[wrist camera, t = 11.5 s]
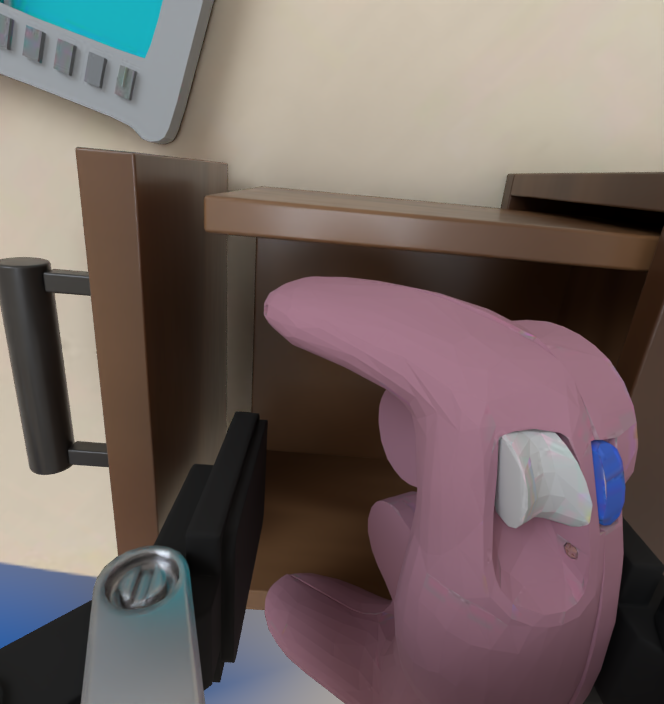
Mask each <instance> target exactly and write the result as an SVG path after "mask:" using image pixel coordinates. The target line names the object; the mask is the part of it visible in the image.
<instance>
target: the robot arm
mask: <svg viewBox="0 0 664 704" xmlns="http://www.w3.org/2000/svg"><path fill="white" fill-rule="evenodd" d="M267 429H268V421H267V420H261V419H260V415H259V413H249V412H235V414H234V417H233V419H232V422H231V424H230V426H229V429H228V431H227V434H226V436H225V439H224V441H223V443H222V446H221V448H220V451H219V453H218V456H217V458H216V461H215V463H214V465H206V464H194V465H193V466H192V467H191V469H190V471H189V473H188V475H187V477H186V479H185V481H184V483H183V485H182V487H181V489H180V492H179V494H178V496H177V498H176V500H175V502H174V504H173V506H172V508H171V510H170V512H169V514H168V516H167V518H166V520H165V522H164V525H163V527H162V529H161V531H160V533H159V535H158V537H157V539H156V541H155V543H154V545H152V546H142V547H139V548H136V549H132V550H129V551H127V552H125V553H123V554H121V555H120V556H118V557H116V558H115V559H114V560H112V561H111V562H110V563H109V564H108V565H106V566H105V567H104V569H103V570H102V572H101V573H100V574H99V576H98V577H97V579H96V583H95V586H94V589H93V597H92V600H91V601H89V602H87V603H85V604H83V605H82V606H80V607H78V608H76V609H74V610H72V611H70V612H68V613H67V614H65V615H63V616H61V617H59V618H57V619H55V620H54V621H52V622H50V623H48V624H46V625H44V626H42V627H40V628H38V629H37V630H35V631H33V632H31V633H29V634H27V635H25V636H24V637H22V638H20V639H18V640H16V641H14V642H12V643H10V644H8V645H7V646H5V647H3V648H1V649H0V704H205V698H204V690H205V689H207V688H208V687H209V686H211V685H212V682H220V680H221V676H222V671H223V667H224V662H232V663H234V662H235V659H236V655H237V649H238V645H239V640H240V635H241V630H242V625H243V620H244V615H245V610H246V605H247V600H248V595H249V590H250V585H251V580H252V575H253V570H254V565H255V560H256V555H257V550H258V545H259V540H260V535H261V530H262V525H263V517H264V501H265V477H266V453H267ZM622 519H623V551H624V555H623V566H622V575H621V583H620V591H619V598H618V606H617V614H616V622H615V625H614V628H613V632H612V635H611V638H610V641H609V645H608V648H607V651H606V655H605V658H604V661H603V664H602V668H601V670H600V672H599V674H598V677H597V679H596V681H595V683H594V685H593V687H592V689H591V691H590V693H589V695H588V697H587V698H586V700H585V701H584V702H583V704H664V575H663V572H664V565H663V563H662V562H661V561H660V560H659V559H658V558H657V556H656V555H655V554H654V553H653V552H652V550H651V549H650V548H649V547H648V546H647V545H646V543H645V542H644V541H643V540H642V539H641V538H640V536H639V535H638V534H637V533H636V532H635V530H634V529H633V528H632V527H631V526H630V525H629V523H628V522H627V521H626V520H625V519H624V517H623V516H622Z"/></svg>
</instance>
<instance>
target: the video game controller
mask: <svg viewBox="0 0 664 704" xmlns="http://www.w3.org/2000/svg"><path fill="white" fill-rule="evenodd" d="M264 316H265V318H266V319H267V321H268V323H269V324H270V325H271V326H272V327H273V328H274V329H275V330H276V331H277V332H278V333H280V334H281V335H282V336H283V337H284V338H285V339H286V340H288V341H289V342H290V343H291V344H292V345H294V346H297V347H299V348H301V349H304V350H306V351H308V352H311V353H313V354H315V355H317V356H320V357H322V358H324V359H327V360H329V361H331V362H334V363H336V364H338V365H341V366H343V367H345V368H347V369H349V370H351V371H353V372H354V373H356V374H358V375H360V376H362V377H364V378H366V379H368V380H369V381H371V382H373V383H375V384H377V385H379V386H381V387H383V388H385V389H386V391H385V392H384V394H383V396H382V399H381V402H380V405H379V429H380V436H381V442H382V445H383V448H384V451H385V454H386V456H387V459H388V461H389V462H390V464H391V465H392V467H393V469H394V470H395V471H396V473H397V474H398V475H399V476H400V477H401V479H403V480H404V481H405V482H407V483H408V484H410V485H412V486H415V487H417V492H414V491H411V492H407V493H404V494H400V495H397V496H393V497H389V498H386V499H383V500H380V501H377V502H376V503H375V504H374V505H373V506H372V507H371V511H370V514H369V517H368V534H369V539H370V544H371V548H372V552H373V555H374V557H375V560H376V563H377V565H378V567H379V570H380V572H381V574H382V576H383V578H384V580H385V582H386V585H387V587H388V590H389V593H390V595H391V598H392V600H388V599H385V598H382V597H380V596H377V595H375V594H373V593H371V592H369V591H366V590H364V589H362V588H360V587H358V586H355V585H352V584H350V583H347V582H344V581H342V580H339V579H335V578H331V577H327V576H322V575H318V574H314V573H295V574H290V575H289V574H286V575H285V576H283V577H281V578H280V579H279V580H278V581H276V582H275V583H274V584H273V585H272V586H271V588H270V589H269V591H268V593H267V596H266V599H265V617H266V621H267V625H268V628H269V631H270V632H271V634H272V636H273V637H274V639H275V641H276V643H277V644H278V646H279V647H280V648H281V649H282V651H283V652H284V653H285V655H286V656H287V657H288V658H289V659H290V660H291V661H293V662H294V663H295V664H296V665H297V666H298V667H299V668H301V669H302V670H303V671H304V672H305V673H306V674H308V675H309V676H310V677H312V678H313V679H314V680H315V681H317V682H318V683H319V684H321V685H322V686H323V687H325V688H326V689H327V690H328V691H330V692H331V693H332V694H333V695H335V696H336V697H337V698H339V699H340V700H341V701H342V702H344V703H345V704H583V702H584V701H585V700H586V698H587V697H588V695H589V693H590V691H591V689H592V687H593V685H594V683H595V681H596V679H597V677H598V674H599V672H600V670H601V668H602V664H603V661H604V658H605V655H606V651H607V648H608V645H609V641H610V638H611V635H612V632H613V628H614V625H615V622H616V614H617V606H618V598H619V591H620V583H621V575H622V566H623V555H624V551H623V519H622V508H623V505H624V502H625V483H626V482H627V480H628V479H629V478H630V476H631V475H632V473H633V472H634V467H635V461H636V455H637V450H638V435H637V422H636V416H635V411H634V406H633V403H632V401H631V398H630V396H629V393H628V391H627V388H626V386H625V384H624V381H623V380H622V378H621V377H620V375H619V374H618V372H617V371H616V369H615V368H614V366H613V365H612V363H611V361H610V360H609V359H608V358H607V357H606V356H605V355H604V354H603V353H602V352H601V351H600V350H599V349H598V348H597V347H596V346H595V345H593V344H592V343H591V342H589V341H588V340H586V339H585V338H584V337H582V336H581V335H579V334H577V333H575V332H573V331H571V330H569V329H567V328H565V327H563V326H560V325H557V324H554V323H551V322H548V321H535V320H518V321H511V320H509V319H507V318H505V317H503V316H501V315H499V314H497V313H495V312H493V311H491V310H489V309H487V308H484V307H480V306H477V305H474V304H471V303H468V302H465V301H462V300H459V299H456V298H453V297H450V296H447V295H444V294H441V293H437V292H432V291H428V290H423V289H418V288H413V287H408V286H403V285H398V284H392V283H387V282H382V281H376V280H367V279H359V278H350V277H318V276H312V277H304V278H301V279H298V280H294V281H291V282H288V283H285V284H284V285H282V286H280V287H279V288H277V289H275V290H274V291H272V292H270V293H269V295H268V297H267V299H266V300H265V302H264Z"/></svg>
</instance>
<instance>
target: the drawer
mask: <svg viewBox="0 0 664 704" xmlns="http://www.w3.org/2000/svg"><path fill="white" fill-rule="evenodd" d="M76 159H77V169H78V178H79V188H80V197H81V207H82V216H83V226H84V235H85V245H86V254H87V264H88V272H83V271H72V270H60V269H53V270H51V264H50V262H49V261H48V260H45V259H41V258H31V257H17V258H6V259H1V260H0V306H1V312H2V317H3V323H4V328H5V334H6V339H7V345H8V350H9V356H10V362H11V367H12V373H13V378H14V384H15V389H16V395H17V401H18V406H19V412H20V417H21V423H22V428H23V434H24V439H25V445H26V451H27V456H28V462H29V467H30V469H31V471H32V472H34V473H36V474H41V475H49V474H55V473H59V472H62V471H64V470H66V469H68V468H70V467H71V466H72V465H86V466H99V467H109V473H110V482H111V492H112V501H113V511H114V520H115V530H116V539H117V549H118V556H120V555H121V554H123V553H125V552H127V551H129V550H132V549H136V548H139V547H142V546H152V545H154V543H155V541H156V539H157V537H158V535H159V533H160V531H161V529H162V527H163V525H164V522H165V520H166V518H167V516H168V514H169V512H170V510H171V508H172V506H173V504H174V502H175V500H176V498H177V496H178V494H179V492H180V489H181V487H182V485H183V483H184V481H185V479H186V477H187V475H188V473H189V471H190V469H191V467H192V466H193V465H194V464H206V465H214V463H215V461H216V458H217V456H218V453H219V451H220V448H221V446H222V443H223V441H224V439H225V436H226V404H227V235H236V236H247V237H256V260H255V297H254V334H253V371H252V408H251V413H259V415H260V419H261V420H267V421H268V429H267V453H266V477H265V501H264V517H263V525H262V530H261V535H260V540H259V545H258V550H257V555H256V560H255V565H254V570H253V575H252V580H251V585H250V590H249V595H248V600H247V605H246V609H256V610H265V599H266V596H267V593H268V591H269V589H270V588H271V586H272V585H273V584H274V583H275V582H276V581H278V580H279V579H280V578H281V577H283V576H285V575H286V574H289V575H290V574H295V573H314V574H318V575H322V576H327V577H331V578H335V579H339V580H342V581H344V582H347V583H350V584H352V585H355V586H358V587H360V588H362V589H364V590H366V591H369V592H371V593H373V594H375V595H377V596H380V597H382V598H385V599H388V600H392V598H391V595H390V593H389V590H388V587H387V585H386V582H385V580H384V578H383V576H382V574H381V572H380V570H379V567H378V565H377V563H376V560H375V557H374V555H373V552H372V548H371V544H370V539H369V534H368V517H369V514H370V511H371V507H372V506H373V505H374V504H375V503H376V502H377V501H380V500H383V499H386V498H389V497H393V496H397V495H400V494H404V493H407V492H411V491H414V492H417V487H415V486H412V485H410V484H408V483H407V482H405V481H404V480H403V479H401V477H400V476H399V475H398V474H397V473H396V471H395V470H394V469H393V467H392V465H391V464H390V462H389V461H388V459H387V456H386V454H385V451H384V448H383V445H382V442H381V436H380V429H379V405H380V402H381V399H382V396H383V394H384V392H385V391H386V389H385V388H383V387H381V386H379V385H377V384H375V383H373V382H371V381H369V380H368V379H366V378H364V377H362V376H360V375H358V374H356V373H354V372H353V371H351V370H349V369H347V368H345V367H343V366H341V365H338V364H336V363H334V362H331V361H329V360H327V359H324V358H322V357H320V356H317V355H315V354H313V353H311V352H308V351H306V350H304V349H301V348H299V347H297V346H294V345H292V344H291V343H290V342H289V341H288V340H286V339H285V338H284V337H283V336H282V335H281V334H280V333H278V332H277V331H276V330H275V329H274V328H273V327H272V326H271V325H270V324H269V323H268V321H267V319H266V318H265V316H264V302H265V300H266V299H267V297H268V295H269V293H270V292H272V291H274V290H275V289H277V288H279V287H280V286H282V285H284V284H285V283H288V282H291V281H294V280H298V279H301V278H304V277H312V276H318V277H350V278H359V279H367V280H376V281H382V282H387V283H392V284H398V285H403V286H408V287H413V288H418V289H423V290H428V291H432V292H437V293H441V294H444V295H447V296H450V297H453V298H456V299H459V300H462V301H465V302H468V303H471V304H474V305H477V306H480V307H484V308H487V309H489V310H491V311H493V312H495V313H497V314H499V315H501V316H503V317H505V318H507V319H509V320H511V321H518V320H535V321H548V322H551V323H554V324H557V325H560V326H563V327H565V328H567V329H569V330H571V331H573V332H575V333H577V334H579V335H581V336H582V337H584V338H585V339H586V340H588V341H589V342H591V343H592V344H593V345H595V346H596V347H597V348H598V349H599V350H600V351H601V352H602V353H603V354H604V355H605V356H606V357H607V358H608V359H609V360H610V361H611V363H612V365H613V366H614V368H616V365H617V362H618V359H619V356H620V353H621V350H622V347H623V344H624V341H625V338H626V335H627V333H628V330H629V327H630V324H631V321H632V318H633V315H634V312H635V309H636V306H637V303H638V300H639V297H640V294H641V291H642V288H643V285H644V282H645V279H646V276H647V273H648V270H649V268H650V265H651V262H652V259H653V256H654V253H655V250H656V247H657V244H658V241H659V238H660V235H661V232H662V229H663V228H659V227H653V226H647V225H641V224H634V223H628V222H622V221H615V220H609V219H602V218H596V217H588V216H577V215H566V214H555V213H544V212H534V211H523V210H512V209H501V208H491V207H480V206H469V205H458V204H447V203H437V202H426V201H415V200H404V199H393V198H383V197H372V196H361V195H350V194H339V193H329V192H318V191H307V190H296V189H286V188H275V187H264V186H261V187H255V188H249V189H243V190H236V191H230V192H228V164H227V163H221V162H212V161H204V160H195V159H186V158H178V157H169V156H161V155H152V154H143V153H135V152H125V151H114V150H103V149H93V148H82V147H77V148H76ZM55 293H63V294H75V295H87V296H91V302H92V311H93V321H94V330H95V340H96V349H97V359H98V368H99V378H100V387H101V397H102V406H103V416H104V425H105V435H106V443H94V442H81V441H77V442H74V435H73V427H72V420H71V412H70V405H69V397H68V390H67V382H66V375H65V368H64V360H63V353H62V345H61V338H60V330H59V323H58V315H57V308H56V301H55Z"/></svg>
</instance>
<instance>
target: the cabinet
mask: <svg viewBox="0 0 664 704" xmlns="http://www.w3.org/2000/svg"><path fill="white" fill-rule="evenodd" d="M501 209H512V210H523V211H534V212H544V213H555V214H566V215H577V216H588V217H596V218H602V219H609V220H615V221H622V222H628V223H634V224H641V225H647V226H653V227H659V228H663V229H662V232H661V235H660V238H659V241H658V244H657V247H656V250H655V253H654V256H653V259H652V262H651V265H650V268H649V270H648V273H647V276H646V279H645V282H644V285H643V288H642V291H641V294H640V297H639V300H638V303H637V306H636V309H635V312H634V315H633V318H632V321H631V324H630V327H629V330H628V333H627V335H626V338H625V341H624V344H623V347H622V350H621V353H620V356H619V359H618V362H617V365H616V368H615V369H616V371H617V372H618V374H619V375H620V377H621V378H622V380H623V381H624V384H625V386H626V388H627V391H628V393H629V396H630V398H631V401H632V403H633V406H634V411H635V416H636V422H637V435H638V450H637V455H636V461H635V467H634V472H633V473H632V475H631V476H630V478H629V479H628V480H627V482H626V483H625V502H624V505H623V508H622V516H623V517H624V519H625V520H626V521H627V522H628V523H629V525H630V526H631V527H632V528H633V529H634V530H635V532H636V533H637V534H638V535H639V536H640V538H641V539H642V540H643V541H644V542H645V543H646V545H647V546H648V547H649V548H650V549H651V550H652V552H653V553H654V554H655V555H656V556H657V558H658V559H659V560H660V561H661V562H662V563H663V565H664V172H623V173H526V174H508V176H507V181H506V185H505V190H504V195H503V200H502V204H501ZM663 575H664V572H663Z"/></svg>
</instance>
